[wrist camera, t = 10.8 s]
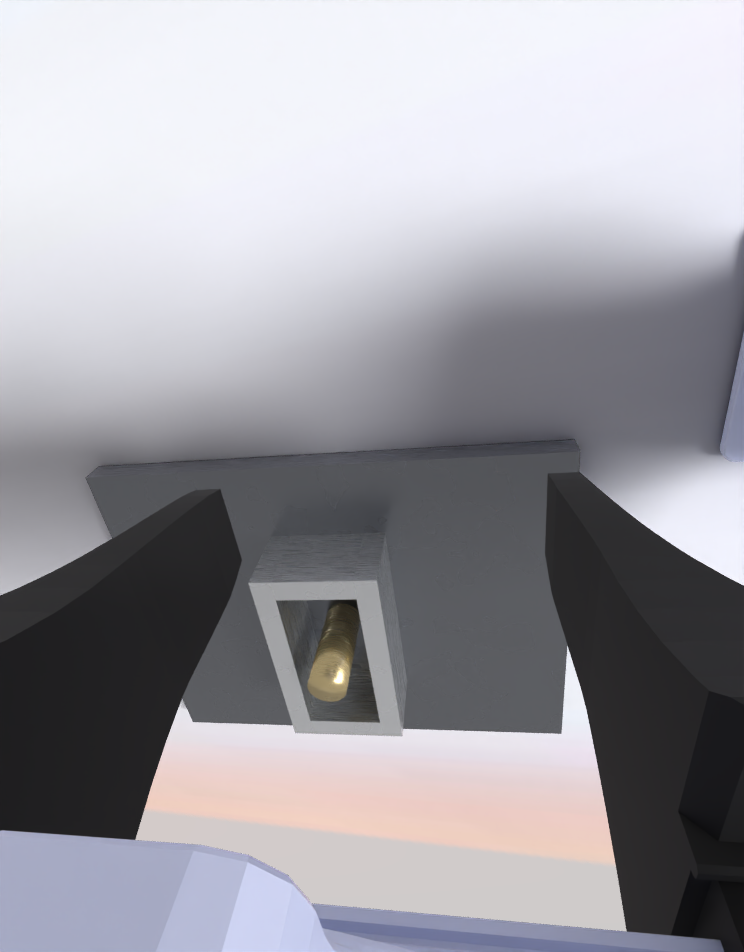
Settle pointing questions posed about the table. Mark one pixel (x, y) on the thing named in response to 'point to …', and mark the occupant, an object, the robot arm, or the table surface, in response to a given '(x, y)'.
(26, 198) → the table surface
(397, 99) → the table surface
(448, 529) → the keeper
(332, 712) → the link
